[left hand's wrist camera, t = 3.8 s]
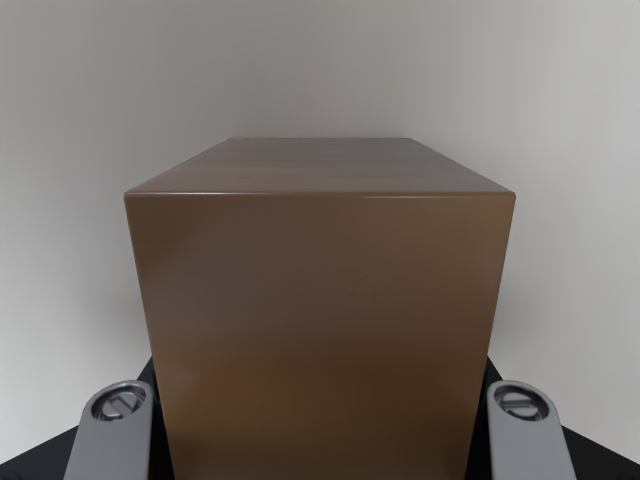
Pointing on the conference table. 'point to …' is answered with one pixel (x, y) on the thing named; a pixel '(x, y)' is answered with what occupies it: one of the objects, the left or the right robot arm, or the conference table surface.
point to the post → (319, 307)
